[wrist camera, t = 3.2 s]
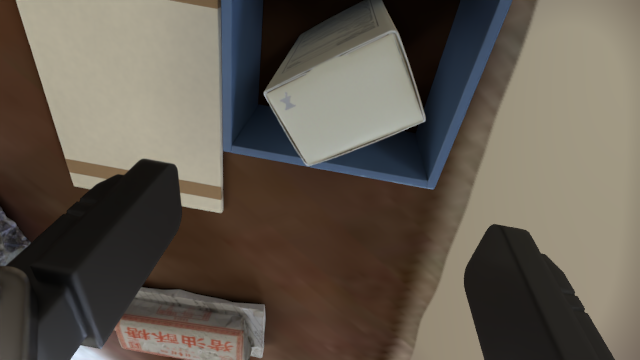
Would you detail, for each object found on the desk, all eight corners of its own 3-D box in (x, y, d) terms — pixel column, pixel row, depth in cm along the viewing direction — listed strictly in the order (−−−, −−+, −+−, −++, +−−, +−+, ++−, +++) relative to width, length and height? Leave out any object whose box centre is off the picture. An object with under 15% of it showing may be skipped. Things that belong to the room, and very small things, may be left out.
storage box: (250, 109, 29) (222, 151, 23) (258, -90, 22) (219, -101, 16) (420, 140, 29) (434, 190, 23) (487, -49, 22) (531, -45, 16)
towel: (77, 183, 36) (73, 186, 35) (-5, -88, 23) (-13, -88, 23) (223, 209, 36) (221, 213, 35) (220, -47, 23) (217, -47, 23)
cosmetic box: (324, 87, 27) (300, 172, 17) (298, 33, 25) (253, 94, 15) (404, 51, 25) (430, 125, 15) (383, -11, 23) (396, 27, 13)
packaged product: (119, 360, 46) (99, 313, 40) (139, 326, 49) (124, 279, 44) (256, 383, 45) (256, 339, 39) (265, 347, 49) (266, 302, 43)
